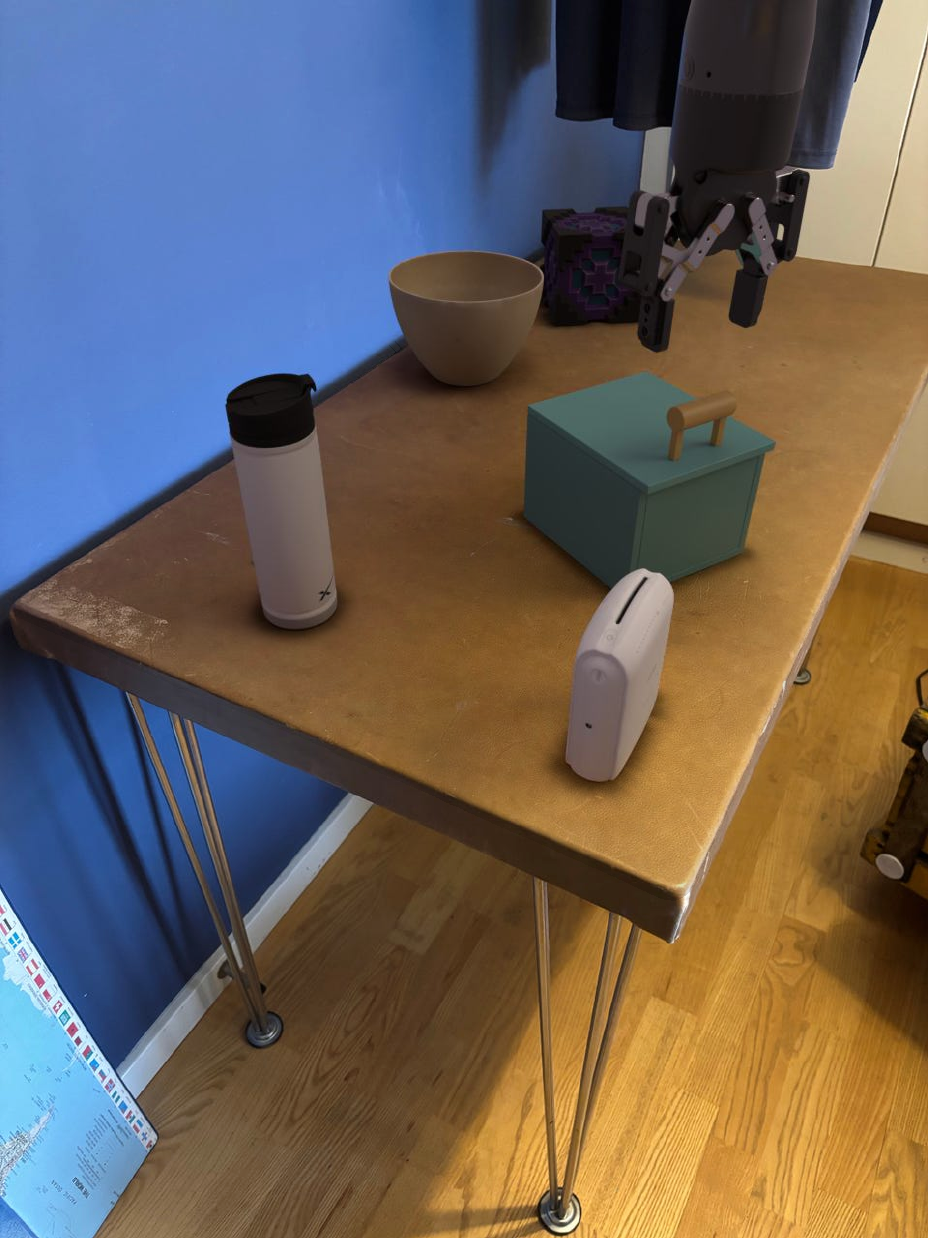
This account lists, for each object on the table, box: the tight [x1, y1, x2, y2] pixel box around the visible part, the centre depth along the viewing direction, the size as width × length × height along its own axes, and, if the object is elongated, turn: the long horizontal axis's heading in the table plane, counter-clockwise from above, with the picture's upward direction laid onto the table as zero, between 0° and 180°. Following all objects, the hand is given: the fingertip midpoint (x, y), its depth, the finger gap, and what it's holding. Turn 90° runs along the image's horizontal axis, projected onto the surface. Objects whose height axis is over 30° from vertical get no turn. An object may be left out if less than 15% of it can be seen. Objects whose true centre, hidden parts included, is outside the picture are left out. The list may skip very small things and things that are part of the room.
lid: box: [526, 370, 777, 495], centre depth 76 cm, size 16×14×5 cm
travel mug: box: [224, 372, 339, 630], centre depth 71 cm, size 6×7×20 cm
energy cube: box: [539, 205, 642, 327], centre depth 126 cm, size 12×12×12 cm
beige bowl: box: [388, 250, 544, 387], centre depth 110 cm, size 18×18×12 cm
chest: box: [522, 413, 766, 590], centre depth 82 cm, size 16×14×11 cm
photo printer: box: [565, 569, 675, 783], centre depth 61 cm, size 10×4×12 cm, turn 152°
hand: (698, 335), depth 66 cm, fingers open, 8 cm apart
